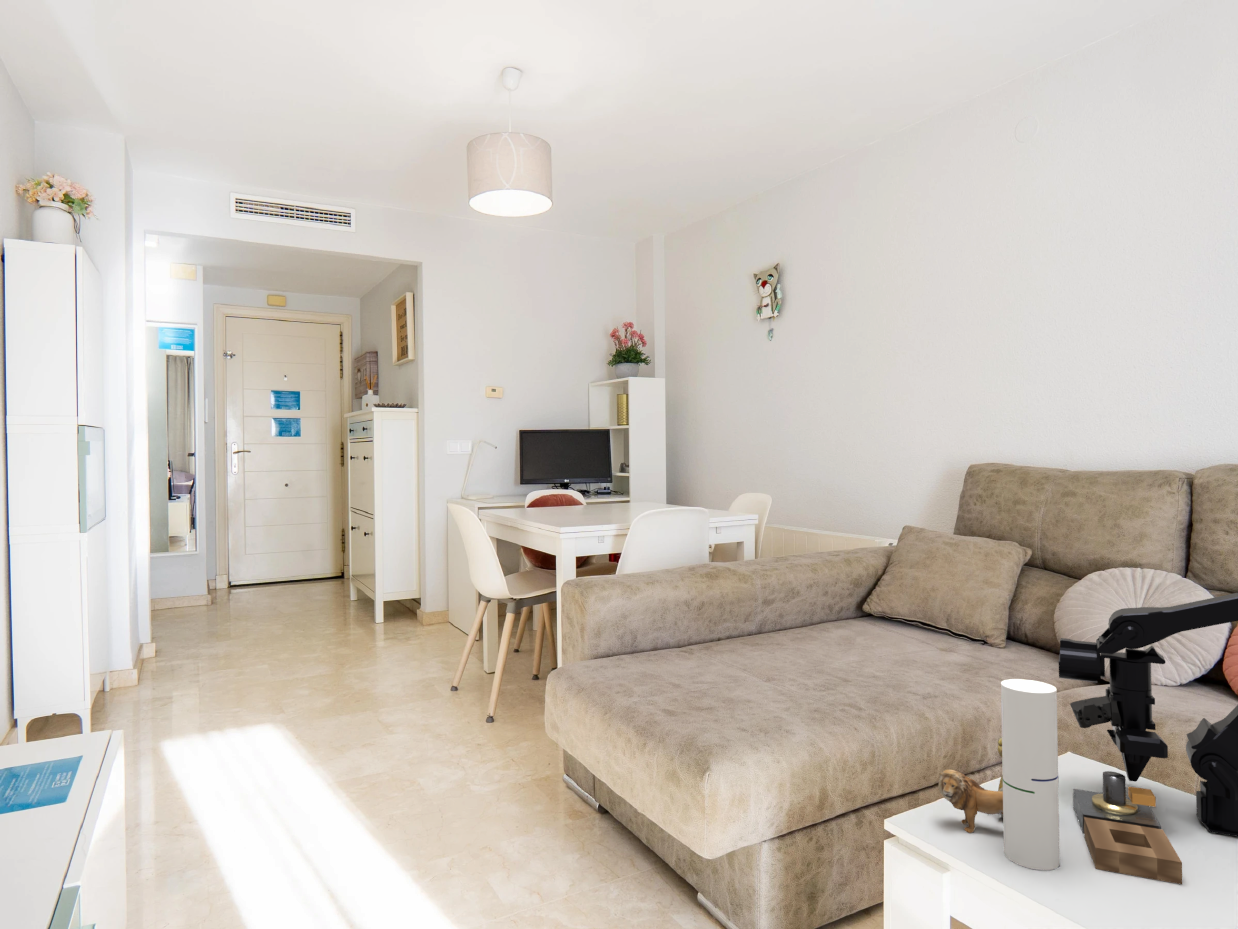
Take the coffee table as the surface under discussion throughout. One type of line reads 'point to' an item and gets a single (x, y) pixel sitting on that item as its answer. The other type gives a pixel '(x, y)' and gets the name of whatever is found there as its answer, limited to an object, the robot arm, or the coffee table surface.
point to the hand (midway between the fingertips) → (1132, 780)
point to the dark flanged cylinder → (1114, 795)
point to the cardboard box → (1141, 796)
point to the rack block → (1132, 850)
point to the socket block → (1087, 809)
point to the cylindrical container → (1030, 773)
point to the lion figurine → (969, 796)
